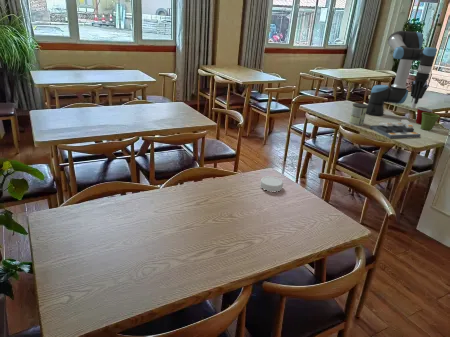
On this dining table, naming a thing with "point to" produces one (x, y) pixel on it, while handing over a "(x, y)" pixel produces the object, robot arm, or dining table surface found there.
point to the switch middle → (397, 124)
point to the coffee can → (358, 114)
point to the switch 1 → (386, 124)
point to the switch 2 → (407, 123)
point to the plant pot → (428, 120)
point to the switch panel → (374, 127)
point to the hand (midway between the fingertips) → (412, 107)
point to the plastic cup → (419, 114)
